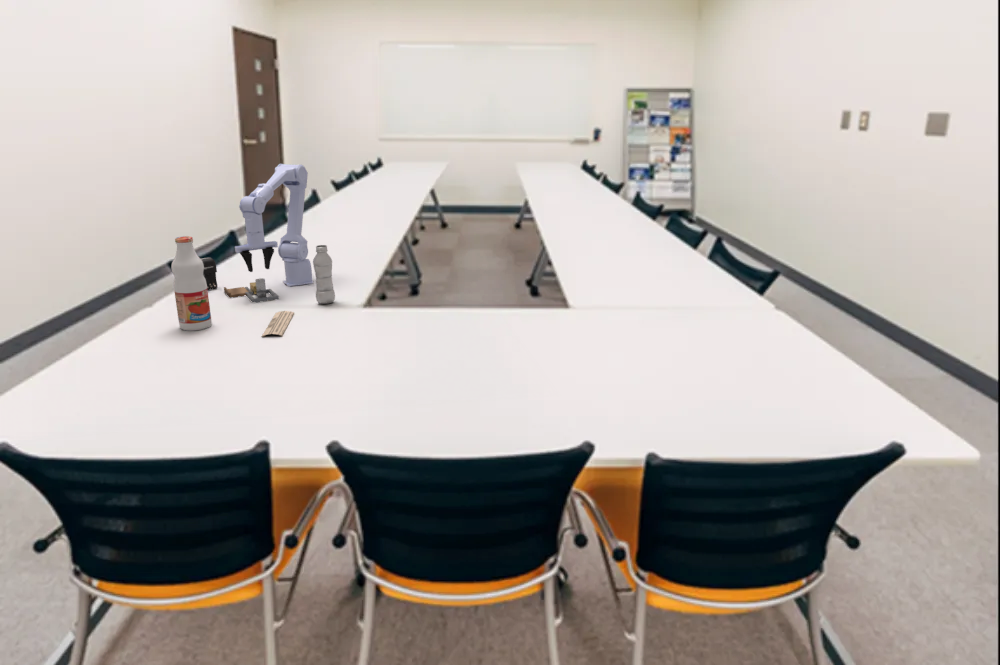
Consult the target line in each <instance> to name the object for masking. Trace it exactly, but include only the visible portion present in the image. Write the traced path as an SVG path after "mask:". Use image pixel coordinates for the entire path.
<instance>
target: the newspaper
mask: <svg viewBox="0 0 1000 665" xmlns="http://www.w3.org/2000/svg"><path fill="white" fill-rule="evenodd" d="M294 316H295V312H294V311H290V310H281V311H278V312H275V314H274V316H273V317H272V318H271V320H270V322H269V324H268V325H267V327H266V328H265V330H264V331H263V333H262V335H261V338H265V337H266V336H267V335H278V336H280V337H284V335H285V333H286V330H287V329H288V328H289V325H290V323H291V321H292V319H293V317H294Z"/></svg>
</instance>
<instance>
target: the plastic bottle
mask: <svg viewBox="0 0 1000 665" xmlns="http://www.w3.org/2000/svg"><path fill="white" fill-rule="evenodd" d="M315 253H316V254H315V256H314V257H313V260H312V265H313V269H314V274H315V281H316V283H315V286H316V287H315V288H316V289H315V299H316V302H317V303H318V304H321V305H323V304H324V305H327V304H332V303H334V302H335V299H336V294H335V289H334V284H333V260H332V257H331V256H330V255H329V253H328V245H326V244H320V245H316V246H315Z"/></svg>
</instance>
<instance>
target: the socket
mask: <svg viewBox="0 0 1000 665" xmlns="http://www.w3.org/2000/svg"><path fill="white" fill-rule="evenodd" d="M244 288H245V289H247V290H248V291H249V292H245V294H246V296H247V297H248V298H249V299H250V300H251V301H252V302H256V303H261V302H260V301H263V302H268V301H267V300H270V301H275V300H274V299H277V300H280V296H279V295H278V293H276V292H275V291H274V290H272V289H271V288H266V294H269V293H270V294H271V295H272V296H271V295H270V294H269V295H270V296H269V295H268V296H267V297H262V298H257V297H254V293H253V291H251V290H250V287H248V286H245V287H244ZM246 296H245V297H246ZM247 297H246V298H247ZM248 298H247V299H248ZM249 299H248V300H249ZM250 300H249V301H250ZM251 301H250V302H251Z"/></svg>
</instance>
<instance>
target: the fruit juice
mask: <svg viewBox="0 0 1000 665" xmlns="http://www.w3.org/2000/svg"><path fill="white" fill-rule="evenodd" d="M174 242H175V245H176V250H175V252H176V253H175V257H174V259H173V261H172V262H171V271H172V274H173V276H174V279H173V292H174V297H175V306H176V310H177V318H178V325H179V328H180V329H181V330H183V331H188V332H189V331H200V330H205V329H207V328H210V327H211V326H212V320H213V319H212V315H211V308H210V306H211V305H210V298H209V290H207V283H206V279H205V277H204V275H203V271H204V264H203V262H202V260H201V259H202V258H200V257H199V255H198V254H197V252H196V249H195V248H194V245H193V243H194V239H193V237H192V236H188V235H186V236H185V235H183V236H178V237H175V238H174Z"/></svg>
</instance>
